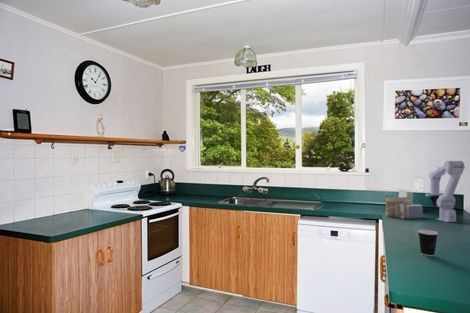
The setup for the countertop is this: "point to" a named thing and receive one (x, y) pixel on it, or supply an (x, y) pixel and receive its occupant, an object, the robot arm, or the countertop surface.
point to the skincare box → (406, 194)
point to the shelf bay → (396, 206)
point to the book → (413, 211)
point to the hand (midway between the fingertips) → (434, 205)
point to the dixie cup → (427, 241)
